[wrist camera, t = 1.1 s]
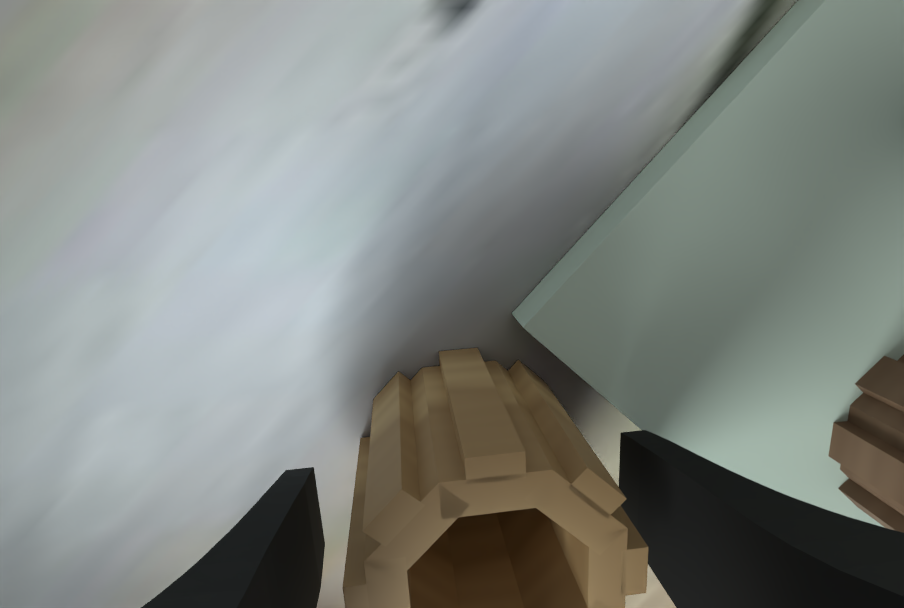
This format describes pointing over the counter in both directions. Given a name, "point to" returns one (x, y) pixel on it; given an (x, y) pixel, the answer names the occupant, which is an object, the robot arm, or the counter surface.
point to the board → (754, 258)
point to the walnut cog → (875, 445)
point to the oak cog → (484, 499)
